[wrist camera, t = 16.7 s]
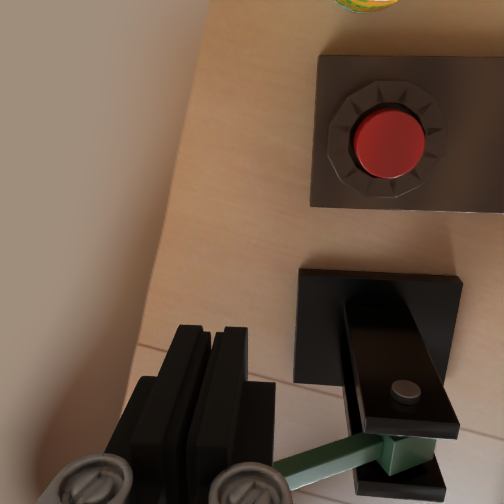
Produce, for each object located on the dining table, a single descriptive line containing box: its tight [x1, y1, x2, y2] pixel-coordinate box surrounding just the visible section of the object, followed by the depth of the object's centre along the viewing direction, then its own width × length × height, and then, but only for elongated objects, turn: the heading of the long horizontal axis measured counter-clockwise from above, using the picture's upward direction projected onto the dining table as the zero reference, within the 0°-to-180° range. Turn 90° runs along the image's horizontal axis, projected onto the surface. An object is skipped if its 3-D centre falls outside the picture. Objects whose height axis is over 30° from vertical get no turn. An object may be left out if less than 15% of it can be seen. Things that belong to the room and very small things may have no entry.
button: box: [353, 108, 425, 178], centre depth 26 cm, size 4×4×2 cm
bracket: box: [293, 268, 463, 503], centre depth 29 cm, size 11×9×13 cm
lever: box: [273, 432, 436, 491], centre depth 23 cm, size 12×5×2 cm, turn 89°
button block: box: [310, 55, 504, 214], centre depth 28 cm, size 12×9×4 cm
